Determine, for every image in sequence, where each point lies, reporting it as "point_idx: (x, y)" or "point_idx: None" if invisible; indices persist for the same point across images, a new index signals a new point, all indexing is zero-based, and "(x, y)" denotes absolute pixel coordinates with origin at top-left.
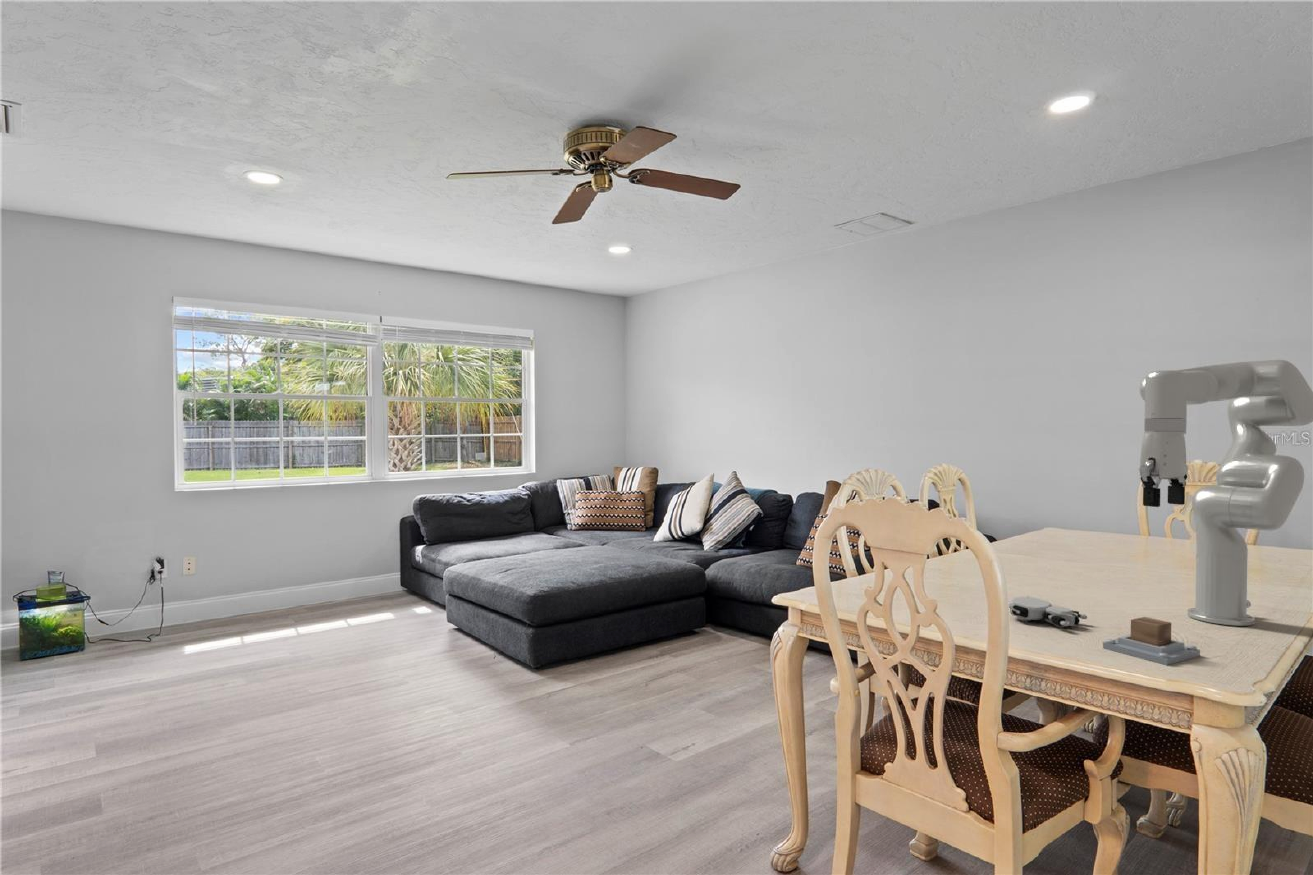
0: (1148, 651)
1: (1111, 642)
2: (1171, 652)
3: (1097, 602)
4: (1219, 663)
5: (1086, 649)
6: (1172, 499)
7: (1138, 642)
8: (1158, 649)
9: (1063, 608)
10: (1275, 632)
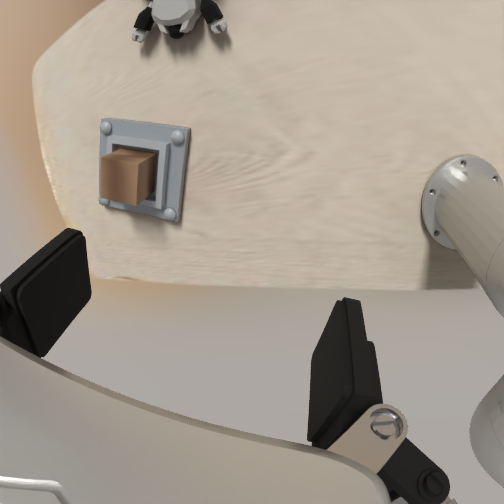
0: None
1: (101, 131)
2: None
3: (445, 4)
4: (166, 242)
5: (84, 108)
6: (330, 336)
7: None
8: None
9: (177, 5)
10: (422, 271)
